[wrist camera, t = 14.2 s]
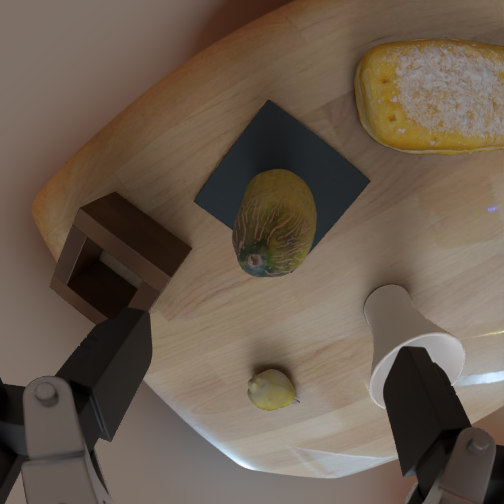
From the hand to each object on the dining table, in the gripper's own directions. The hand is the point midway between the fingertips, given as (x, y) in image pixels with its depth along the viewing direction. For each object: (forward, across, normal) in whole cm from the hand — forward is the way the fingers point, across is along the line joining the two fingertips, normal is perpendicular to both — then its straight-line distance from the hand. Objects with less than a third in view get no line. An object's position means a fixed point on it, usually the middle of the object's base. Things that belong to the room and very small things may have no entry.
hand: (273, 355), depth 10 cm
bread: (+28, -18, -15) cm, 36 cm away
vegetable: (+27, 0, 0) cm, 27 cm away
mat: (+27, 0, 0) cm, 27 cm away
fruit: (+28, -4, +28) cm, 39 cm away
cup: (+28, -16, +13) cm, 34 cm away
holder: (+27, +18, +11) cm, 34 cm away
